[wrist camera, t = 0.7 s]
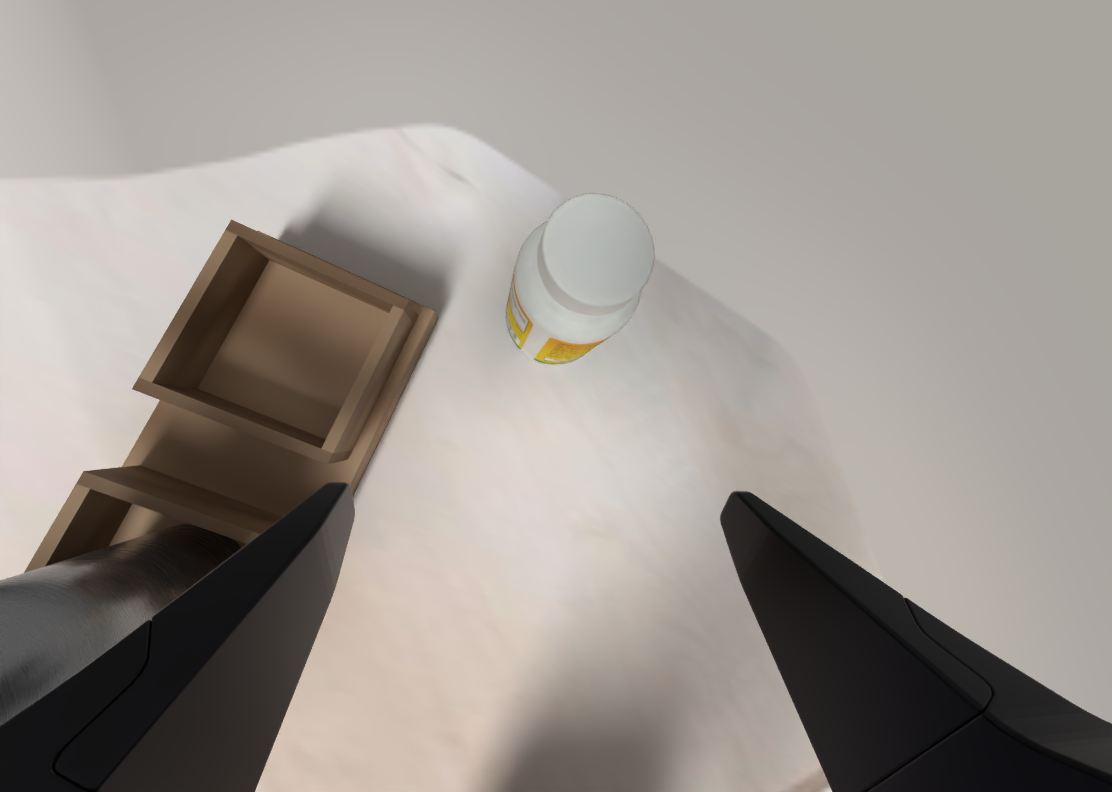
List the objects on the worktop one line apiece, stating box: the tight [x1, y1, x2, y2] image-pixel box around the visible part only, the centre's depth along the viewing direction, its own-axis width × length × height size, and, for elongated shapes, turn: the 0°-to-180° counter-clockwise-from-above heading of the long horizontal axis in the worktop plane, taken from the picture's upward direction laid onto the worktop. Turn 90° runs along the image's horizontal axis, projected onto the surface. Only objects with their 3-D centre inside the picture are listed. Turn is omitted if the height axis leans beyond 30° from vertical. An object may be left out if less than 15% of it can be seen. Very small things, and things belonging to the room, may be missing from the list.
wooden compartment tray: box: [24, 220, 438, 573], centre depth 18 cm, size 20×9×4 cm, turn 157°
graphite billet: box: [0, 524, 241, 725], centre depth 13 cm, size 5×5×10 cm
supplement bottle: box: [506, 193, 654, 365], centre depth 18 cm, size 5×5×10 cm
